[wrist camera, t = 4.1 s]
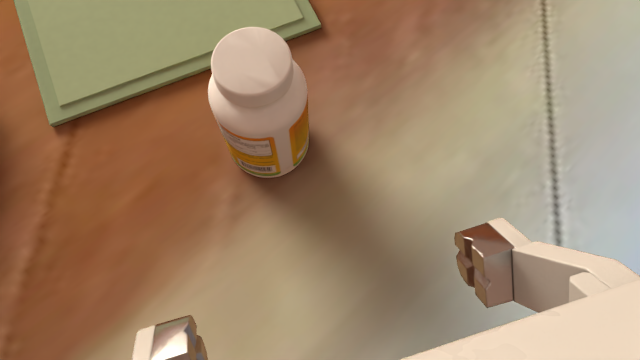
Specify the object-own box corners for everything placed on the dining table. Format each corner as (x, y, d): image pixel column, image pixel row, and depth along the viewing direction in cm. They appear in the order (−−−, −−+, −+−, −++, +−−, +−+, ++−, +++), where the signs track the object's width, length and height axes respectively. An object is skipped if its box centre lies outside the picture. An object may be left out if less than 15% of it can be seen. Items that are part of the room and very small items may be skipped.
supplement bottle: (286, 94, 34) (275, -2, 25) (323, 157, 33) (326, 78, 23) (216, 127, 33) (178, 40, 24) (250, 193, 32) (223, 127, 22)
